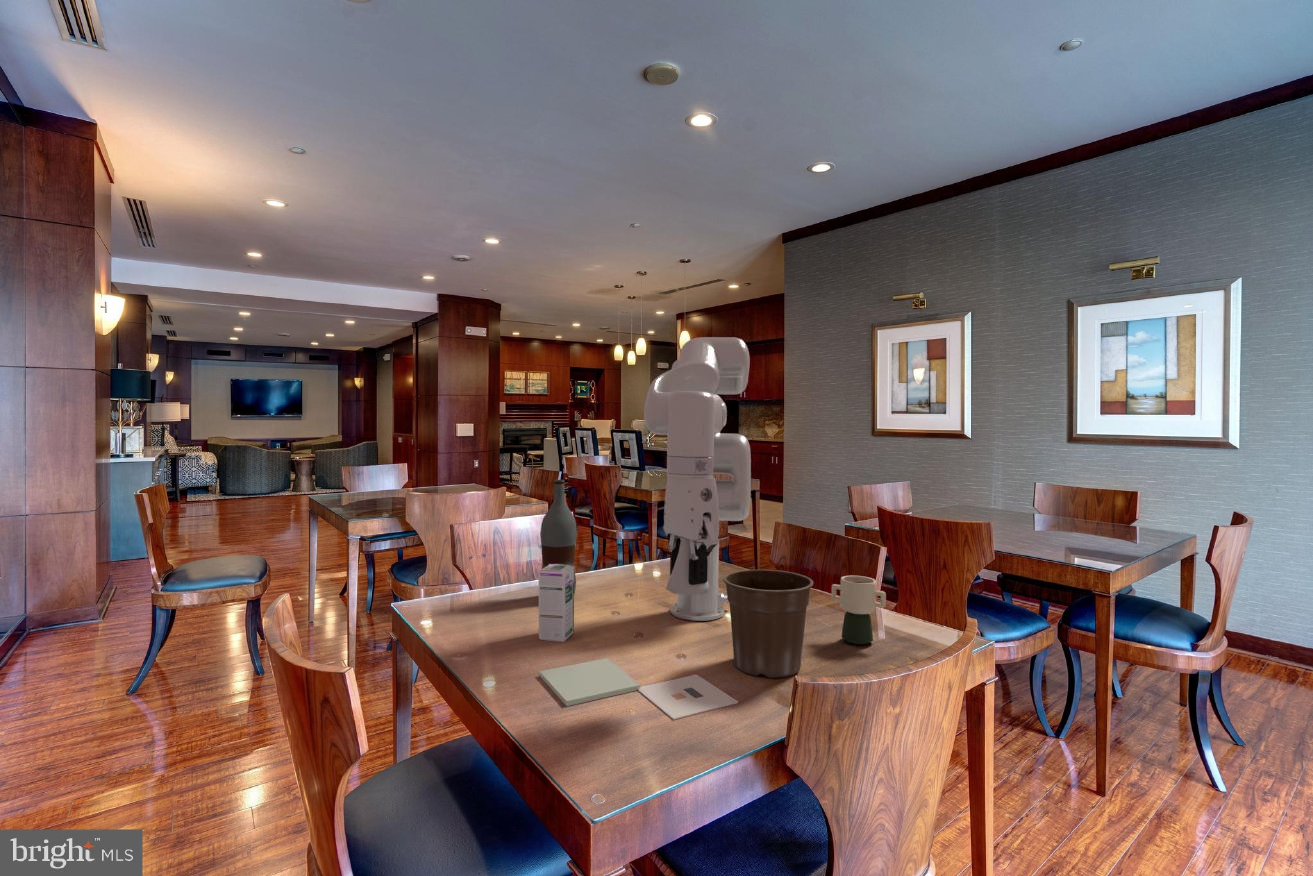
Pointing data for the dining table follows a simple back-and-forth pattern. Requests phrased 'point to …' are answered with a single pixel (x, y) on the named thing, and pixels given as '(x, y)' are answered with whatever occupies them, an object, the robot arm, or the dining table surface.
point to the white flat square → (686, 696)
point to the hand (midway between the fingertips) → (688, 578)
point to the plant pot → (768, 620)
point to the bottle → (558, 532)
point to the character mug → (858, 607)
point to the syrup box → (556, 602)
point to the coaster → (588, 681)
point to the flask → (684, 573)
